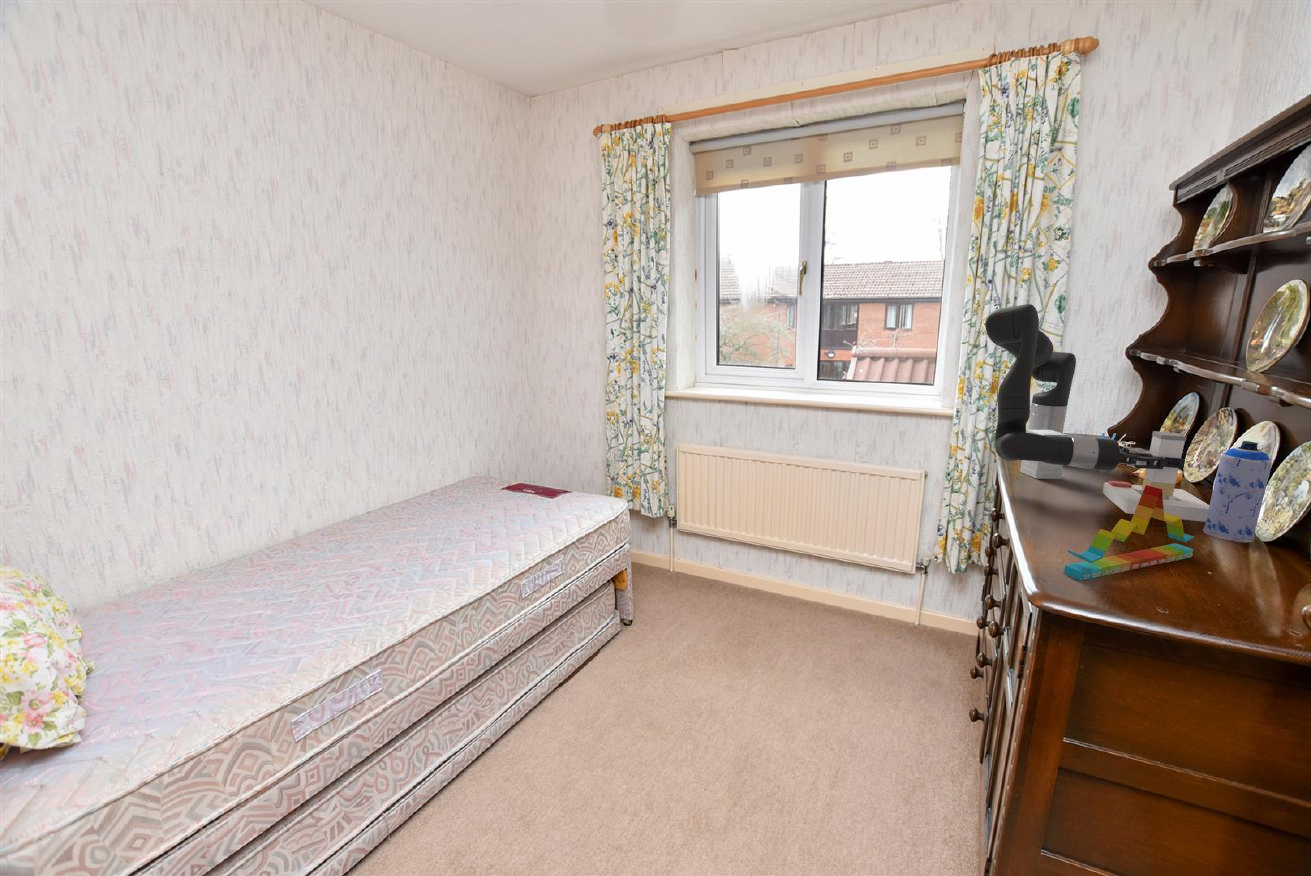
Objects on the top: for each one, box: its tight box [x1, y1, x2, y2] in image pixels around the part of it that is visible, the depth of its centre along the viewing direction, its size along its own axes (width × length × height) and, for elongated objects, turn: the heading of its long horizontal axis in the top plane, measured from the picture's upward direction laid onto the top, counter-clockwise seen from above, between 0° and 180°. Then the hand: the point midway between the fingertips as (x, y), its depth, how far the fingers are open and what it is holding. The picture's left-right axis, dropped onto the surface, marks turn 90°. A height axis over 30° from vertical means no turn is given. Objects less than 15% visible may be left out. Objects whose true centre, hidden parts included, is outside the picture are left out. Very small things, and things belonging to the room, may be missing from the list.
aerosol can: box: [1202, 440, 1273, 543], centre depth 120 cm, size 8×8×20 cm
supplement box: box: [1019, 429, 1069, 480], centre depth 163 cm, size 7×7×13 cm
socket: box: [1102, 480, 1210, 523], centre depth 138 cm, size 16×16×4 cm
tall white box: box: [1141, 430, 1187, 496], centre depth 136 cm, size 5×5×14 cm
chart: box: [1063, 485, 1195, 581], centre depth 105 cm, size 30×3×15 cm, turn 110°
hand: (1178, 460), depth 135 cm, fingers closed on tall white box, 4 cm apart
